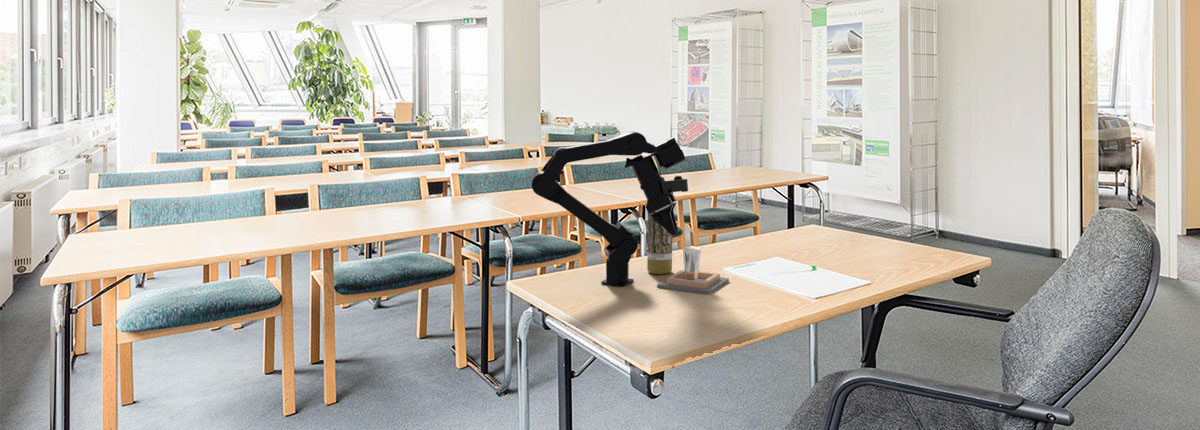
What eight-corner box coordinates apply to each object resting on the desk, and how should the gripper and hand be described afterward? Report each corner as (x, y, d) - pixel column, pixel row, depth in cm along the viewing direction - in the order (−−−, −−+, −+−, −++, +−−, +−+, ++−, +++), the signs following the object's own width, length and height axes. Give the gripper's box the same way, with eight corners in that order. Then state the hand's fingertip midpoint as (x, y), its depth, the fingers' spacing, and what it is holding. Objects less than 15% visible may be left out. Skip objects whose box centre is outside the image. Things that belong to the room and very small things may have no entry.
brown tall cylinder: (670, 275, 191) (672, 183, 187) (645, 274, 192) (646, 183, 188) (673, 269, 197) (674, 181, 193) (648, 268, 199) (649, 180, 195)
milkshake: (704, 283, 180) (705, 245, 178) (683, 283, 180) (683, 245, 178) (702, 278, 184) (703, 241, 183) (682, 278, 185) (682, 241, 183)
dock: (708, 294, 173) (709, 285, 173) (657, 287, 180) (657, 278, 180) (728, 281, 185) (728, 273, 184) (679, 274, 192) (679, 267, 191)
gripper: (675, 163, 170) (703, 222, 169) (679, 164, 188) (704, 217, 188) (633, 183, 172) (661, 241, 171) (642, 182, 190) (666, 234, 190)
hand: (675, 233), depth 180 cm, fingers open, 9 cm apart
